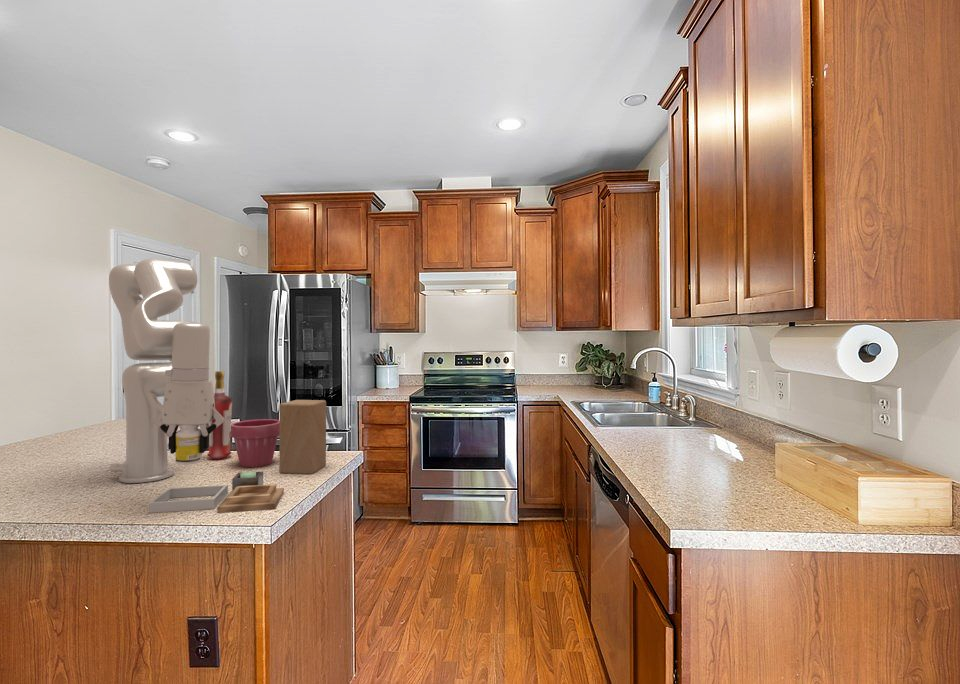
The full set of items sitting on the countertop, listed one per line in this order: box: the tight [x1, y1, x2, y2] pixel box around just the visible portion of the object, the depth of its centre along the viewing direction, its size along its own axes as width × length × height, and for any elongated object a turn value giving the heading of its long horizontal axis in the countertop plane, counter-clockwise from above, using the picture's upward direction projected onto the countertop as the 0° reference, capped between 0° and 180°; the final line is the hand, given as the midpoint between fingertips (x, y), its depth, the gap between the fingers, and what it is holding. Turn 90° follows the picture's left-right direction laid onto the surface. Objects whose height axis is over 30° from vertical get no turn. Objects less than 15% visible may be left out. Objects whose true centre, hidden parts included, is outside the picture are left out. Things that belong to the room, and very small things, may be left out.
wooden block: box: [278, 399, 327, 475], centre depth 146 cm, size 10×10×20 cm
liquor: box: [207, 370, 233, 461], centre depth 159 cm, size 7×7×28 cm
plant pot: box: [230, 418, 280, 468], centre depth 152 cm, size 14×14×13 cm
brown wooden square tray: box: [216, 483, 285, 513], centre depth 116 cm, size 12×12×3 cm
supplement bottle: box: [175, 425, 203, 466], centre depth 116 cm, size 5×5×10 cm
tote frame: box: [148, 484, 229, 514], centre depth 115 cm, size 13×11×2 cm
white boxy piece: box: [231, 471, 264, 491], centre depth 125 cm, size 6×6×4 cm
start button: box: [240, 470, 257, 478], centre depth 125 cm, size 4×4×2 cm
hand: (188, 451), depth 116 cm, fingers closed on supplement bottle, 5 cm apart
